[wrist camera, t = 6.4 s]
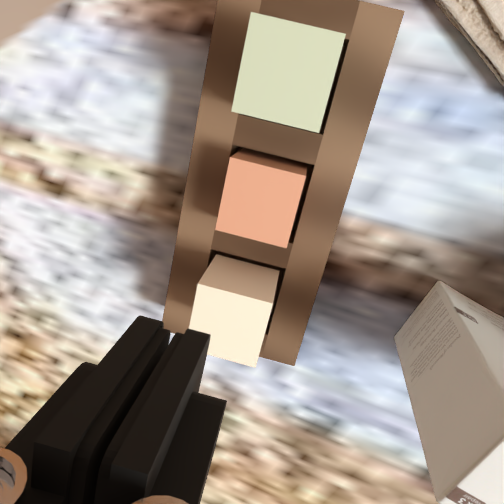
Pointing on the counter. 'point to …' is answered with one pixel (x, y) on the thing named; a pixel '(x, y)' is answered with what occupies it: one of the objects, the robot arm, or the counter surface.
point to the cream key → (234, 308)
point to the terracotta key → (261, 197)
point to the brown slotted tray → (285, 146)
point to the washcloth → (480, 28)
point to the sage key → (287, 71)
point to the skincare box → (457, 394)
